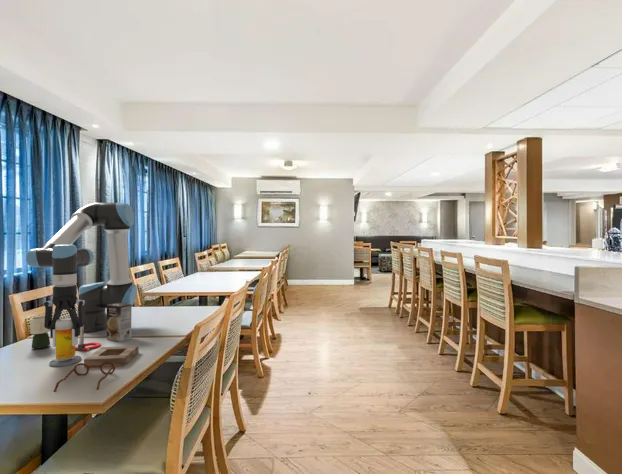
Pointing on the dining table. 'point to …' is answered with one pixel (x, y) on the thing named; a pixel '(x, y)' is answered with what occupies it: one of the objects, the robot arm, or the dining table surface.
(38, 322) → the character mug
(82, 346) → the tow hook
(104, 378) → the glasses
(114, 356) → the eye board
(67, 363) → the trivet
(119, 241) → the robot arm
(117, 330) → the coffee box
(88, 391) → the dining table surface
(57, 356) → the beer can
